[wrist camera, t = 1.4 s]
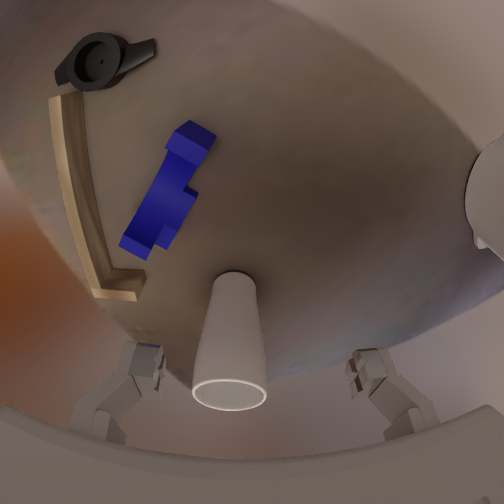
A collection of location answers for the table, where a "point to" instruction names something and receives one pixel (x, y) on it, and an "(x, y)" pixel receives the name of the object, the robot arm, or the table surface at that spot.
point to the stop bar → (86, 202)
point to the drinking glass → (231, 348)
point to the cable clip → (168, 192)
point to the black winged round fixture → (101, 61)
